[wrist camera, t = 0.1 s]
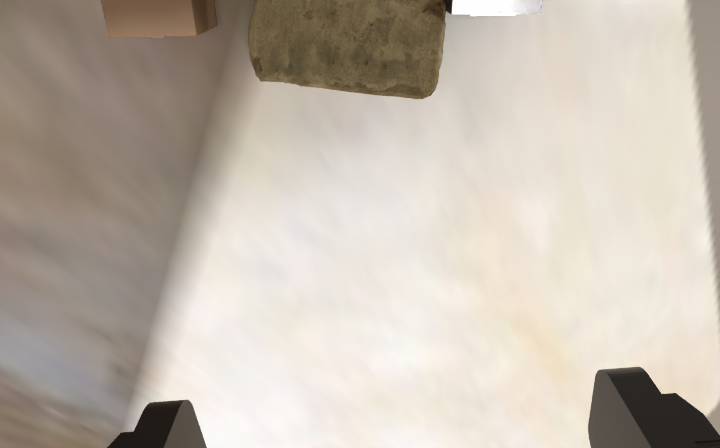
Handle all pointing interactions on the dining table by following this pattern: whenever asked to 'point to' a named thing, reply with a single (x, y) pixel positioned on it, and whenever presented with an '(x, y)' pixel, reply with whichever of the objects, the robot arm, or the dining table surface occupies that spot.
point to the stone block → (350, 44)
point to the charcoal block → (493, 7)
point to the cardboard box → (158, 17)
